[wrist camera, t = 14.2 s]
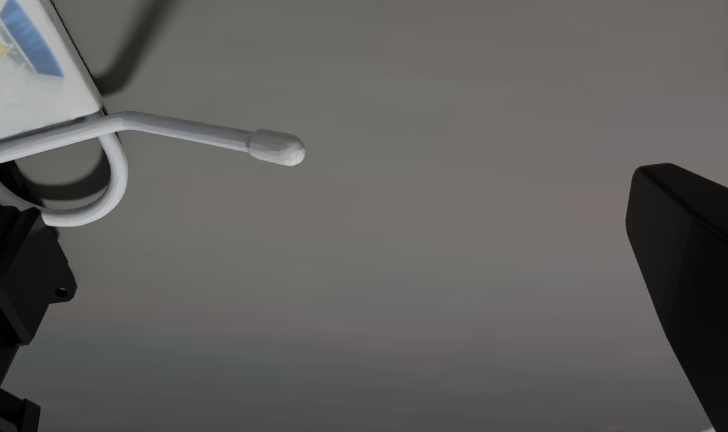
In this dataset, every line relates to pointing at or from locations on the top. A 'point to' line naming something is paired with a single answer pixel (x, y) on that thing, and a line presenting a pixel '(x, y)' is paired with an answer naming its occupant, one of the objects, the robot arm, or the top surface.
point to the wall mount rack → (86, 110)
